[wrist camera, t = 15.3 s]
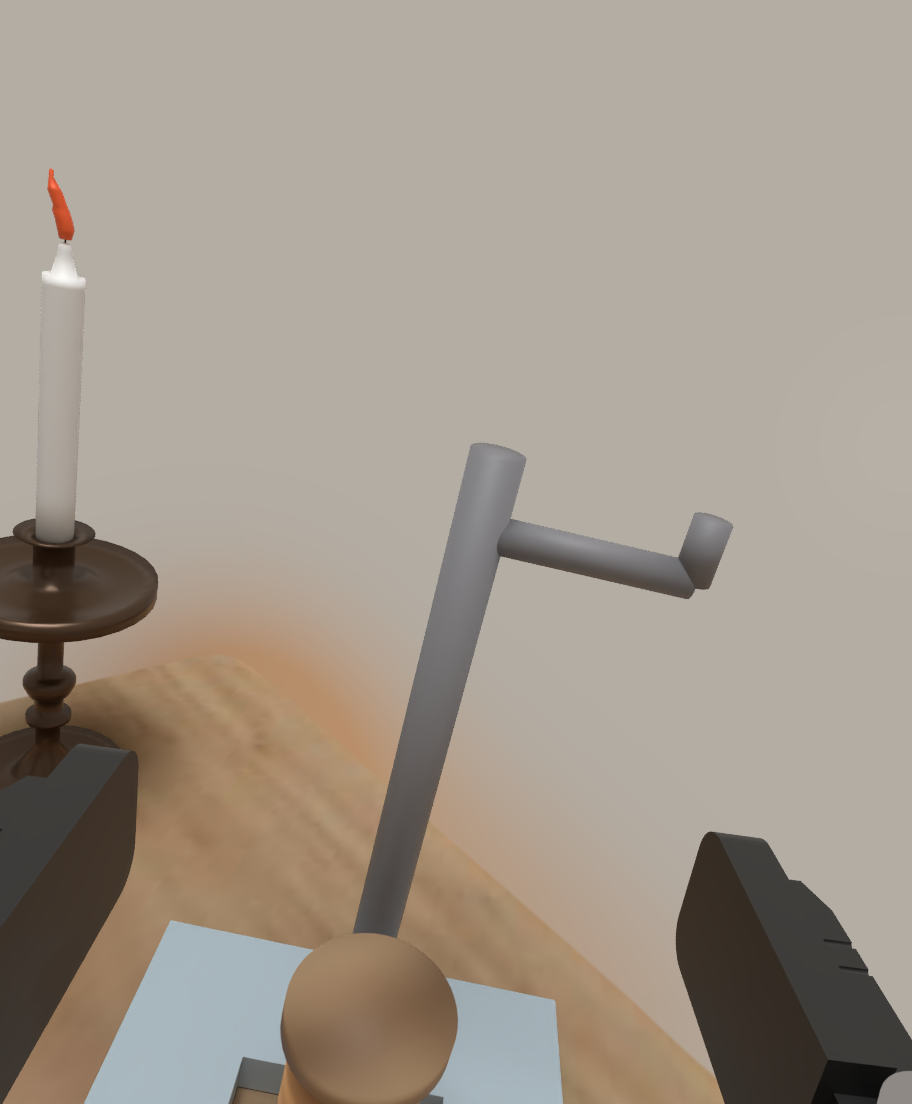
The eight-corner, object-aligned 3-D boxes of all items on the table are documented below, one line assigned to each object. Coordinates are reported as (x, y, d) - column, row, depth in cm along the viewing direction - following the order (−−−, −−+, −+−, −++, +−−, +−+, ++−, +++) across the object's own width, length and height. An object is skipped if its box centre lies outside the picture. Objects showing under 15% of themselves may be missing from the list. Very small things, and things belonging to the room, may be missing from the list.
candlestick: (-99, 833, 43) (-136, 131, 30) (-5, 717, 53) (-2, 150, 40) (106, 858, 45) (155, 200, 32) (160, 741, 55) (215, 202, 42)
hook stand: (13, 1283, 28) (33, 484, 17) (167, 948, 41) (237, 373, 29) (566, 1387, 29) (943, 693, 17) (544, 1026, 42) (752, 495, 30)
